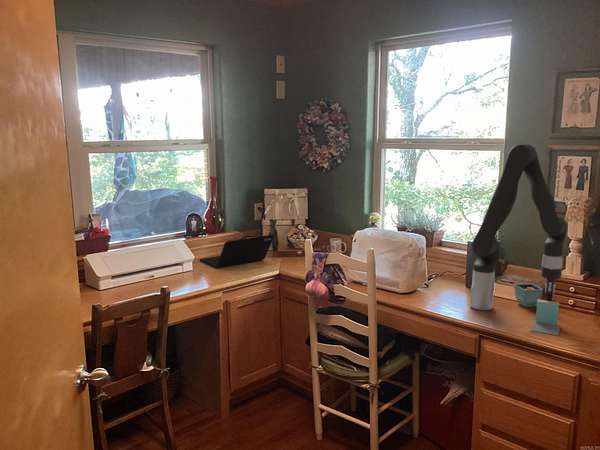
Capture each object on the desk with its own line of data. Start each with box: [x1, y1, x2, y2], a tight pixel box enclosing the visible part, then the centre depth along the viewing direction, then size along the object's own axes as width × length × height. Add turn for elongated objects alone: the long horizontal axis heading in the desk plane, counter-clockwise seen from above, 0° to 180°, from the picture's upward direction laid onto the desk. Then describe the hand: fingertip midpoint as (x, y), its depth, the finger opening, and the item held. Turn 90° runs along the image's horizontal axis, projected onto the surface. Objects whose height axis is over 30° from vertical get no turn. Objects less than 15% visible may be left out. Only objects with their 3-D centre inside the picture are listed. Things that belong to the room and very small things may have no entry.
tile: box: [535, 299, 560, 326], centre depth 207 cm, size 8×2×10 cm, turn 62°
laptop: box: [199, 234, 276, 269], centre depth 308 cm, size 33×38×19 cm
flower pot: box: [514, 283, 543, 308], centre depth 230 cm, size 9×9×9 cm
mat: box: [530, 321, 561, 337], centre depth 203 cm, size 10×10×1 cm
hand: (548, 306), depth 209 cm, fingers closed
